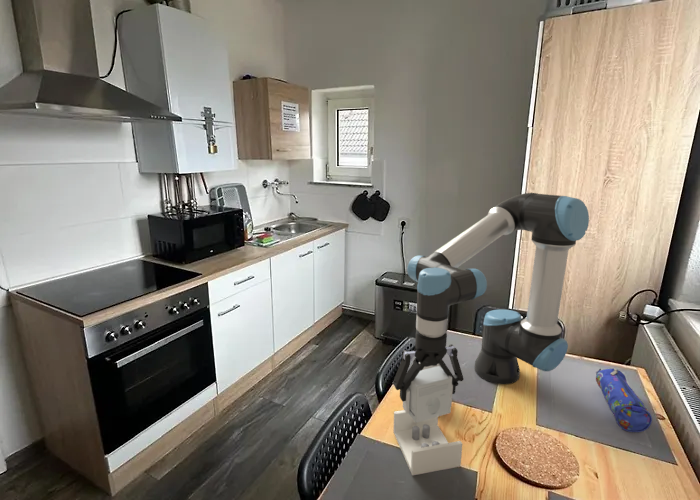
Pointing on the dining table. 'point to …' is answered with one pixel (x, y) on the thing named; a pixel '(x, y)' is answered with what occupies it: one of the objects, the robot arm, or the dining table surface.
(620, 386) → the pencil case
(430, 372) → the skincare box
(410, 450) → the peg frame
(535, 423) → the dining table surface
